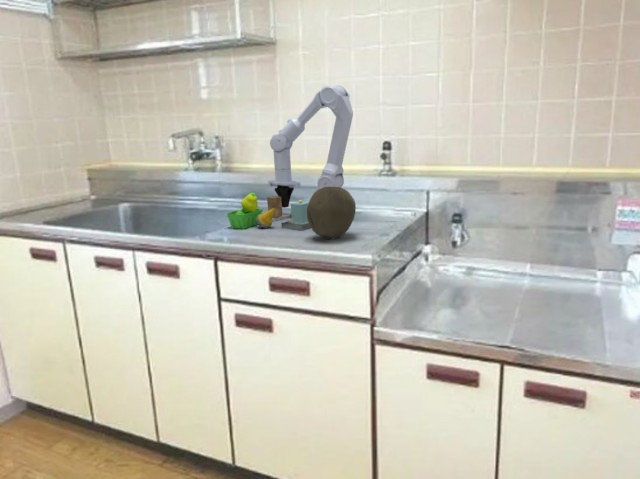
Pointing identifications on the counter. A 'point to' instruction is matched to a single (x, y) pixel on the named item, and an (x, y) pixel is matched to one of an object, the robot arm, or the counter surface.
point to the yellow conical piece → (265, 219)
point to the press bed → (296, 225)
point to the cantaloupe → (331, 212)
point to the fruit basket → (245, 213)
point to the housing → (299, 212)
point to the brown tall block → (275, 205)
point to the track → (280, 217)
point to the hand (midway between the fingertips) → (285, 207)
